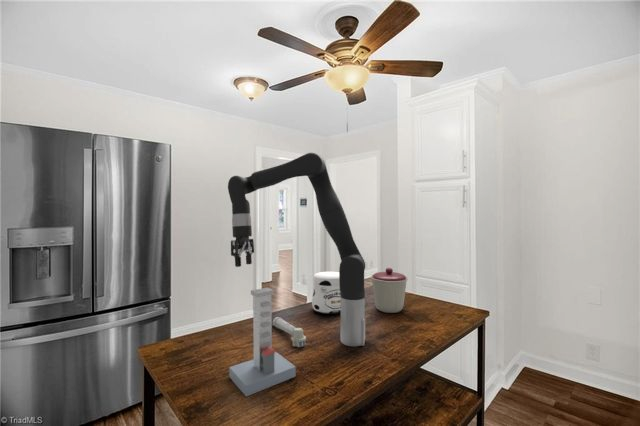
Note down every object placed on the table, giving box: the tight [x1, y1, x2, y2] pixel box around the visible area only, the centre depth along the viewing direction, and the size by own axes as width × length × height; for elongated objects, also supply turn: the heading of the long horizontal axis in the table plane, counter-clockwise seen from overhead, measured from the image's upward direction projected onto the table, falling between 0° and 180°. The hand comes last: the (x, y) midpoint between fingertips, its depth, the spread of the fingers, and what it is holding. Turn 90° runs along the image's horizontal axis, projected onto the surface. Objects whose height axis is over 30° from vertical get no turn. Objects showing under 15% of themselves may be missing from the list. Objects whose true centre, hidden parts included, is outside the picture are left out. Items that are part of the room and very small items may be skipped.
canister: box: [370, 267, 409, 314], centre depth 152 cm, size 18×18×21 cm
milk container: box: [311, 271, 341, 315], centre depth 150 cm, size 17×17×18 cm
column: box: [250, 287, 275, 372], centre depth 91 cm, size 6×5×23 cm
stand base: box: [228, 347, 297, 397], centre depth 92 cm, size 16×12×10 cm
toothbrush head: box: [272, 316, 307, 348], centre depth 122 cm, size 5×7×25 cm
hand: (243, 265), depth 122 cm, fingers open, 8 cm apart
